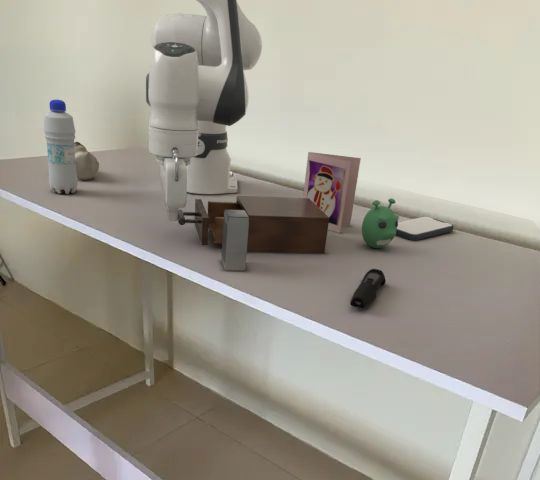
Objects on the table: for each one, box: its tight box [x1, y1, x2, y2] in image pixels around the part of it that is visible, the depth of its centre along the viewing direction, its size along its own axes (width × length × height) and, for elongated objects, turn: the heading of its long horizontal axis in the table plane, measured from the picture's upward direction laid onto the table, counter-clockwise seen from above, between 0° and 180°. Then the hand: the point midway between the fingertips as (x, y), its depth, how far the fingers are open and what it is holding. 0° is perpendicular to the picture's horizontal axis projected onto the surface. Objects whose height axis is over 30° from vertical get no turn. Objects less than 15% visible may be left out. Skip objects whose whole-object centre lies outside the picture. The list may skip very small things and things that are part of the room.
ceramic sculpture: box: [74, 141, 100, 181], centre depth 154 cm, size 11×9×15 cm
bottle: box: [43, 99, 79, 195], centre depth 136 cm, size 7×7×20 cm
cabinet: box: [235, 195, 329, 254], centre depth 121 cm, size 16×15×7 cm
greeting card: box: [302, 151, 362, 234], centre depth 133 cm, size 11×7×15 cm, turn 47°
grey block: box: [221, 210, 249, 272], centre depth 105 cm, size 4×4×10 cm
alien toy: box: [361, 197, 400, 249], centre depth 122 cm, size 7×8×10 cm
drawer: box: [177, 198, 243, 247], centre depth 118 cm, size 19×13×5 cm
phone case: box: [396, 216, 455, 241], centre depth 138 cm, size 9×2×16 cm
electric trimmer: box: [349, 268, 386, 309], centre depth 99 cm, size 4×16×3 cm, turn 159°
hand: (172, 218), depth 116 cm, fingers closed, pressing on drawer
